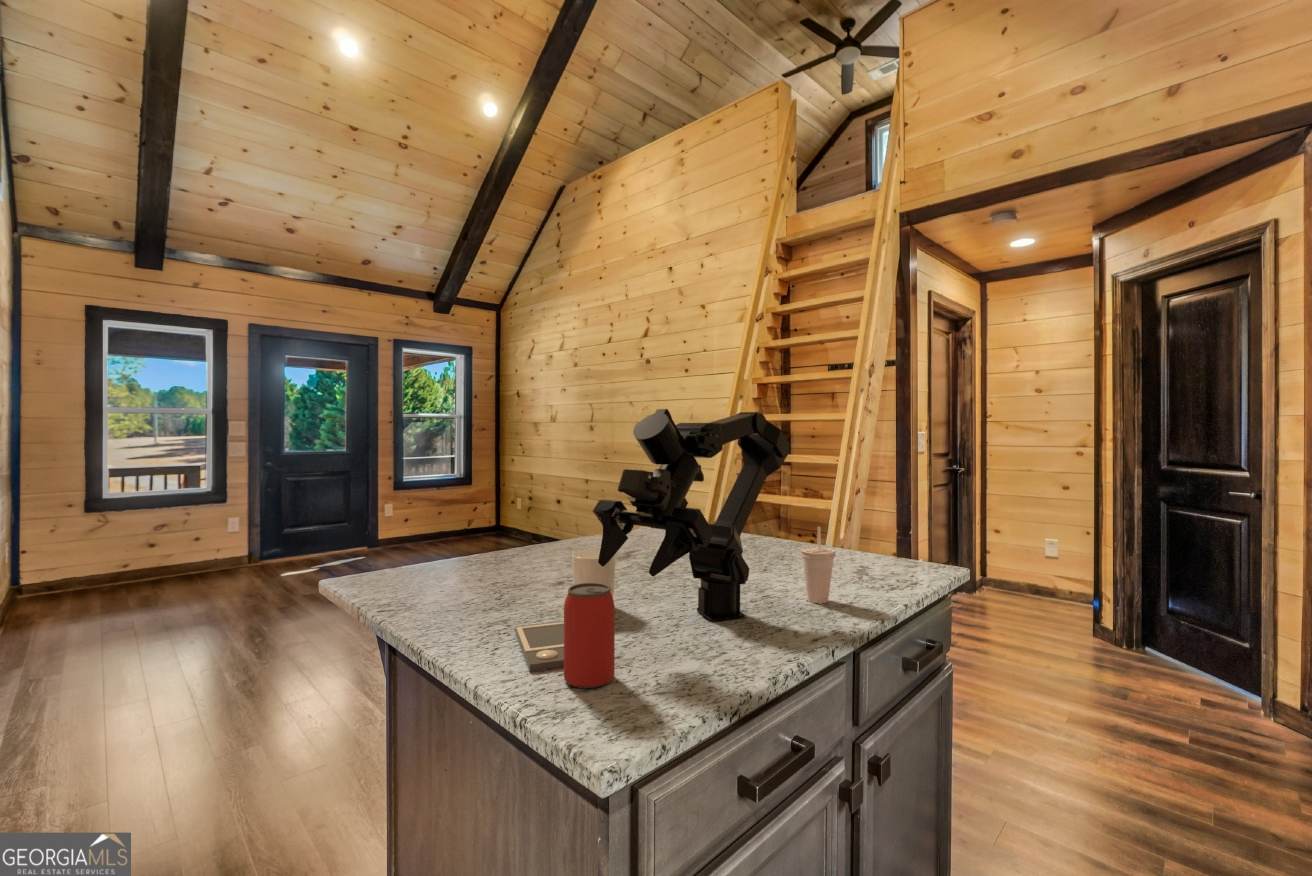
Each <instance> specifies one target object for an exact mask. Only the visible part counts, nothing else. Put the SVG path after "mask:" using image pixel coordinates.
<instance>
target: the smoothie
mask: <svg viewBox="0 0 1312 876" xmlns="http://www.w3.org/2000/svg"><path fill="white" fill-rule="evenodd" d="M821 533H822V531H821V526H817V546H807V547H802V548H801V550H800V556H802V563H803V571H804V579H805V587H806V596H807V601H808V602H809V601H810V602H809V603H811V602H812V603H811V604H815V603H818V604H817V605H823V604H822V603H825V604H827V603H828V602H829V595H830V588H831V581H832V574H833V566H834V558H836V557H837V556H836V551H835V550H834V549H833V548H828V547H822V545H821V544H822V543H821V541H822V540H821V538H822V535H821ZM826 602H827V603H826Z"/></svg>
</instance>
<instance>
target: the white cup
mask: <svg viewBox="0 0 1312 876" xmlns="http://www.w3.org/2000/svg"><path fill="white" fill-rule="evenodd" d="M600 549H601V548H599V549H598V548H597V549H596V548H595V549H591V548H590V549H583V550H582V549H581V550H578V551H575V552H572V554H571V558H572V559H571V560H572V561H571V565H572V580H573V585H577V584H582V583H600V584H605V585H607V586H609V587H610V588H611V590H610V592H611V595H612V597H613V598H614V593H615V582H616V581H615V579H616V560H617V559H616V556H617V555H616V554H617V553H616V554H615V555H614V556H613V557H612V558H611V560H610V561H609V562H608V563H607V564H606V565H605V566H604V567H602V566H600V564H599V563H598V560H599V554H600Z"/></svg>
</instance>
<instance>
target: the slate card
mask: <svg viewBox="0 0 1312 876" xmlns="http://www.w3.org/2000/svg"><path fill="white" fill-rule="evenodd" d="M514 633H515V636H516V639H517V642H518V644H519V648H520V649H521V653H522V655H523V658H524V660H525V664H526V665H527V666H526V667H527V669H528V672H529V673H532V672H538V671H539V672H540V671H546V670H552V669H553V670H555V669H559V668H561V669H562V668H564V620H562V621H560V620H559V621H553V622H552V621H551V622H545V623H534V624H527V625H526V624H525V625H518V626H514Z"/></svg>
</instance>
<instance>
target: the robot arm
mask: <svg viewBox="0 0 1312 876" xmlns="http://www.w3.org/2000/svg"><path fill="white" fill-rule="evenodd" d="M632 431H633V432H632V433H633V436H634V437H635V439H636V441H637V443H638V444H639V445H640V447H641V448H642V451H644V453H645V455H646V456H647V458H648V459H649V461H650V462H651V463H652V464H654V465H659V467H658V468H655V469H654V470H653V471H649V470H648V471H647V470H642V469H631V468H630V469H628V468H626V469H625V468H624V469H622V473H621V477H620V480H619V483H618V486H617V491H618V492H619V493H623V494H625V495H627V496H629V497H631V498H630V500H629V503H630V504H631V505H632V506H633V507H635V509H636V510H629V509H627V507H626V506H625V504H624V502H622V501H621V500H614V499H606V498H604V499H600V500H598V502H597V503H596V505H595V507H594V508H593V510H592V513H593V514H594V515H595V516H596V518H597V520H598V521H599V522H600V524H601V526H602V537H601V545H600V548H599V549H600V554H599V560H598V563H599V564H600V566H602V567H604V566H605V565H606V564H607V563H608V562H609V561H610V560H611V558H612V557H613V556H614V555H615V554H617V552H618V551H619V550H620V549H621V548H622V547H623V545H624V544H625V543H626V542H627V541H628V539H629V537H628V534H629V533H631V532H632V530H633V529H634V526H640V527H647V528H651V529H655V530H657V529H658V530H663V531H665V532H664V538H663V540H662V541H661V543H660V546H659V548H658V550H657V551H656V553H655V556H654V557H653V560H652V562H651V564H650V567H649V570H648V573H649V575H650V577H655V576H657V575H658V574H659V573H661V572H662V571H664V570H665V569H666V568H668V567H669V566H671V565H672V564H673V563H674V562H677V560H679V559H681V558H683V557H684V556H685V555H687V554H688V559H689V562H690V568H691V572H692V577H693V579H700V587H698V589H697V590H698V591H697V597H698V598H697V599H698V602H697V603H698V604H697V607H696V611H697V612H698V613H699V614H700V615H702V616H704V617H705V618H707V619H708V620H709V621H710V622H716V621H725V620H733V619H741V618H745V617H746V614H745V613H744V612H742V611H741V585H745V584H746V583H747V581H749V580H748V579H749V575H750V567H749V565H748V564H747V562H746V560H745V558H744V557H743V554H744V553H743V552H744V550H743V544H742V540H741V534H742V532H743V530H744V528H745V526H746V524H747V522H748V519H749V517H750V514H751V512H752V511H753V508H754V506H755V504H756V501H757V499H758V498H759V495H760V492H761V490H762V488H763V486H764V484H765V482H766V479H767V478H768V477H769V476H771V475H772V474H773V473H775V472H777V471H778V470H780V469H781V467H782V465H783V464H784V463H785V461H786V459H787V457H788V456H789V453H790V444H789V441H788V439H787V438H786V436H785V434H784V433H783V430H782V429H780V428H779V427H777V426H776V425H774V424H773V423H771V422H770V421H768V419H766V416H765V415H764V414H763V412H761V413H760V412H759V411H740V412H738V413H736V414H734V415H731V416H727V417H725V418H721V419H717V420H714V421H710V422H679V423H677V424H676V423H675V421H674V419H673V417H672V415H671V413H670V411H669V409H667V408H657V409H656V410H655V412H654V413H652V414H650V415H647V416H645V417H644V418H642V419H641V420H640V421H638V422H636V424H635V425H634V426H633V430H632ZM734 441H737V443H736V444H737V446H738V447H739V448H740V451H741V452H740V453H741V458H742V461H743V465H742V467H741V469H740V471H739V474H738V475H737V477H736V479H735V482H734V483H733V486H732V487H731V489H730V492H729V494H728V496H727V498H726V500H725V502H724V504H723V506H722V507H721V510H720V512H719V515H718V516H717V517H716V520H715V522H714V523H712V524H711V523H709V522H708V520H707V519H706V517H705V516H704V514H703V512H702V511H701V509H700V508H693V507H687V506H688V505H689V501H688V500H687V498H686V496H687V495H688V493H689V490H690V488H691V487H692V485H693V483H694V482H698V483H699V482H700V483H701V482H702V483H703V482H704V481H705V479H704V478H705V476H704V473H703V471H702V465H701V464H699V462H698V461H697V458H698V459H701V458H702V459H711V458H714V457H715V456H717V455H718V454H719V453H721V452H722V451H723V450H724V445H725V444H728V443H731V442H734Z"/></svg>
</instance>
